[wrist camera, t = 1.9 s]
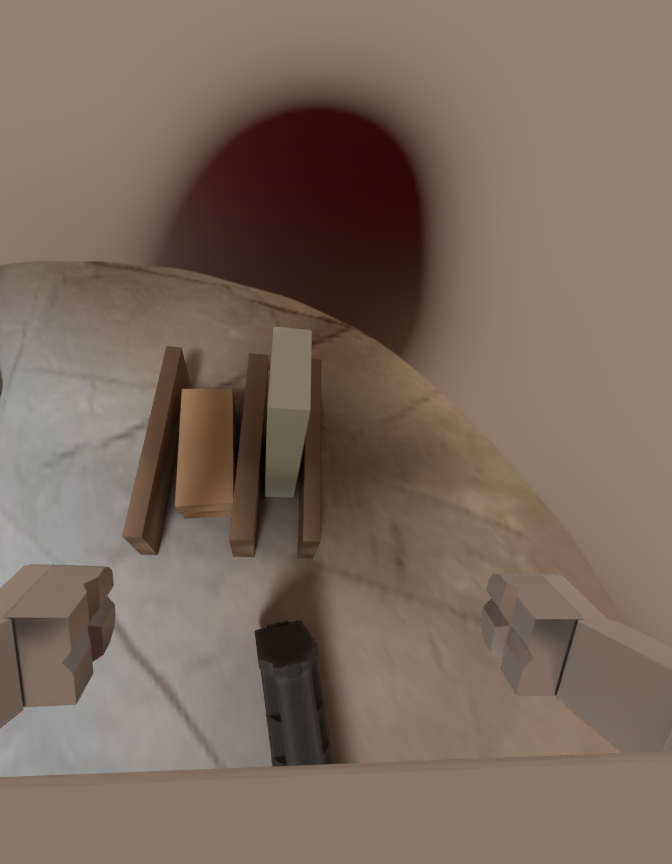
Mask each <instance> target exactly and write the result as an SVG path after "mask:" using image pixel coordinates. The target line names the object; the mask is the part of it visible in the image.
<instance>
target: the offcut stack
mask: <svg viewBox="0 0 672 864" xmlns="http://www.w3.org/2000/svg"><path fill="white" fill-rule="evenodd" d="M235 480H236V440H235V404H234V390H233V389H232V388H219V389H182V396H181V413H180V430H179V447H178V464H177V481H176V498H175V507H176V509H177V511H178V513H182V514H183V516H184V518H185V519H187V518H201V517H216V516H230V515H232V508H233V498H234V489H235Z"/></svg>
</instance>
